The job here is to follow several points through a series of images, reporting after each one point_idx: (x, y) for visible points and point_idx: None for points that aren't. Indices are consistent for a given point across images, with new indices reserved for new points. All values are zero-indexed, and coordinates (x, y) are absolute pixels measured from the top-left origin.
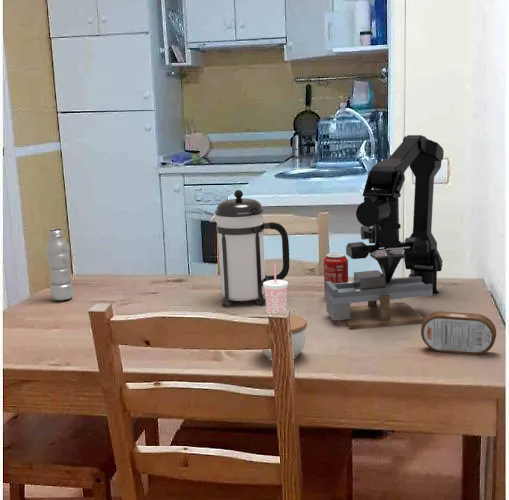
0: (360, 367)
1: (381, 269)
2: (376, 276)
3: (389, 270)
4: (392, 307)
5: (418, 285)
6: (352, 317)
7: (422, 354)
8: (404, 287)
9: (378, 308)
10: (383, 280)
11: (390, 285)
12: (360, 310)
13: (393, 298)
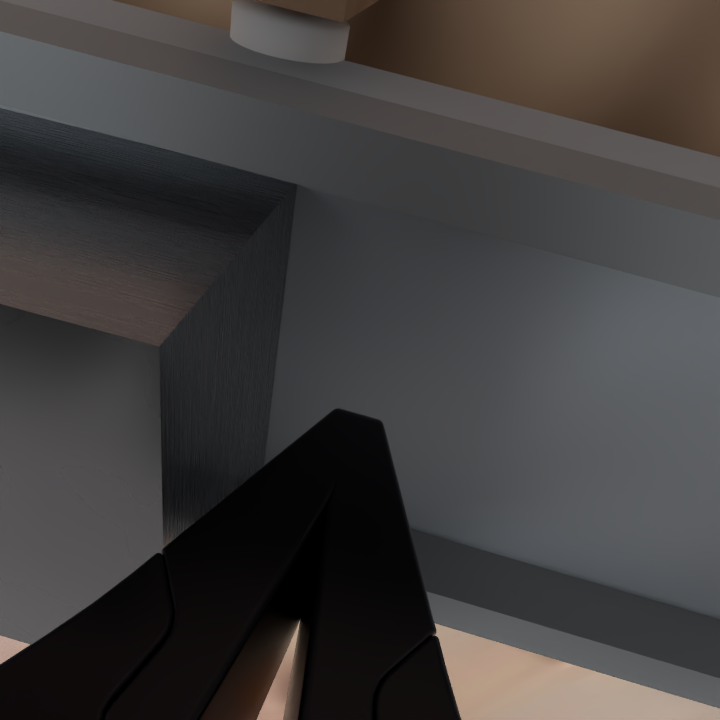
0: (7, 651)
1: (164, 567)
2: (19, 633)
3: (285, 712)
4: (570, 97)
5: (675, 684)
6: None
7: (274, 696)
8: (467, 629)
9: (402, 43)
10: None
11: (514, 265)
12: (178, 7)
13: None
